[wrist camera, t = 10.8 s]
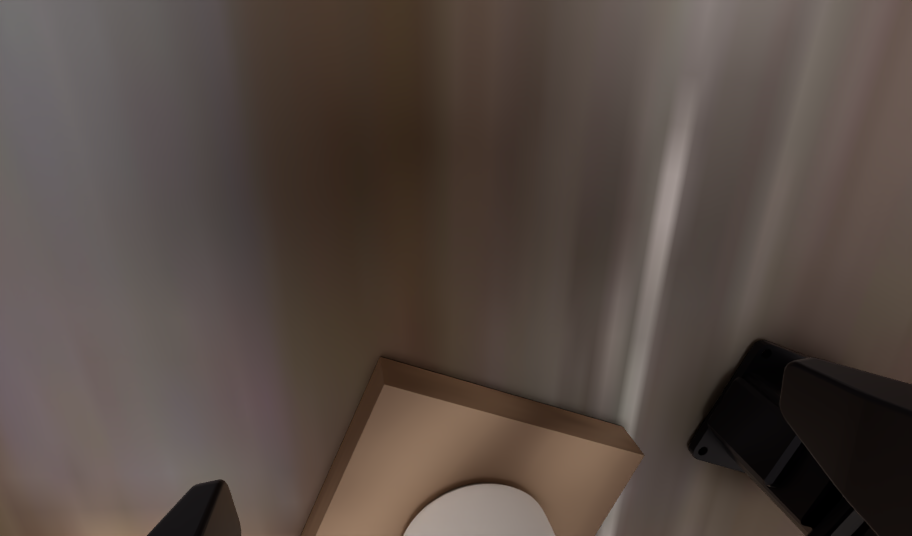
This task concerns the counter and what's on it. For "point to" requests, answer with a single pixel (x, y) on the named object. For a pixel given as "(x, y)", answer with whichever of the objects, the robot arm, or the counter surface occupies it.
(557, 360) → the counter surface
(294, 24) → the counter surface
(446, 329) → the counter surface
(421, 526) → the can
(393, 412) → the base
